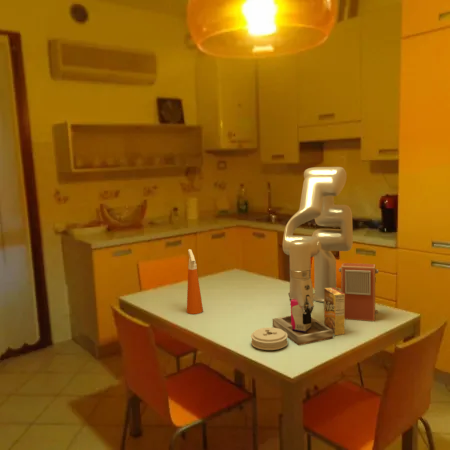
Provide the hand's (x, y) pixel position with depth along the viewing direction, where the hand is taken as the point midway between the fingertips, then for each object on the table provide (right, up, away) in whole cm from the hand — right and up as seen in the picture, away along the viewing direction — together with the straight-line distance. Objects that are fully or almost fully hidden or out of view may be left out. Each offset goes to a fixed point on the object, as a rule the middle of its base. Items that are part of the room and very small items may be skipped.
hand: (301, 319), depth 175 cm
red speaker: (+25, -2, +12) cm, 28 cm away
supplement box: (0, -4, 0) cm, 4 cm away
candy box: (+12, -4, 0) cm, 13 cm away
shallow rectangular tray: (0, -5, 0) cm, 5 cm away
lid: (-12, -7, -9) cm, 17 cm away
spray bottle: (-41, -2, +30) cm, 51 cm away
